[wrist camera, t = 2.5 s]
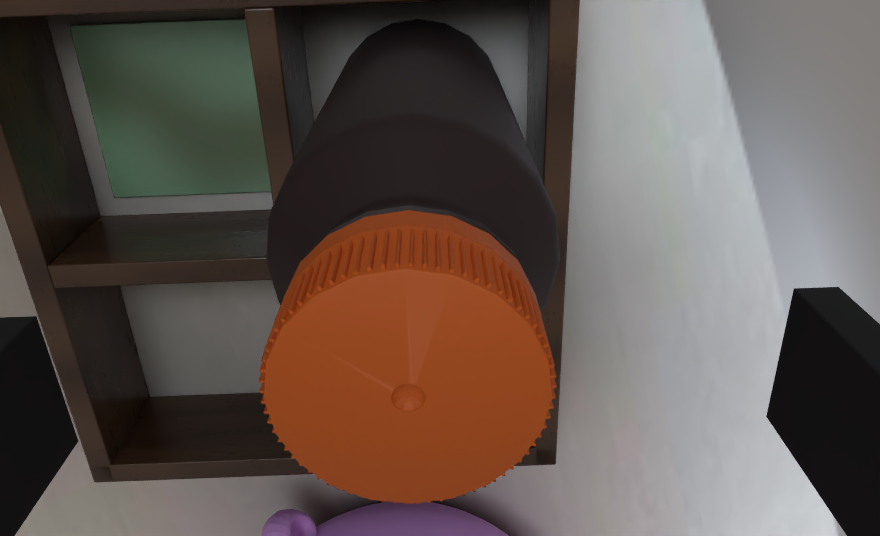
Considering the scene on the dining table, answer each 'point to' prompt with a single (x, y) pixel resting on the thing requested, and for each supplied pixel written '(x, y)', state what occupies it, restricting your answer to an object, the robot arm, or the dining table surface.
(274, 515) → the teapot
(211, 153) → the wooden box with compartments
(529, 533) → the dining table surface
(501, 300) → the vinegar
